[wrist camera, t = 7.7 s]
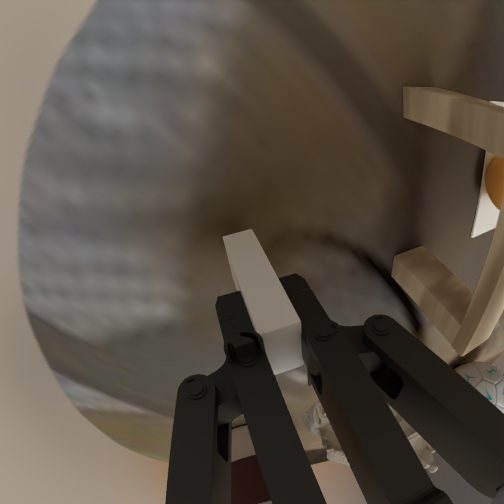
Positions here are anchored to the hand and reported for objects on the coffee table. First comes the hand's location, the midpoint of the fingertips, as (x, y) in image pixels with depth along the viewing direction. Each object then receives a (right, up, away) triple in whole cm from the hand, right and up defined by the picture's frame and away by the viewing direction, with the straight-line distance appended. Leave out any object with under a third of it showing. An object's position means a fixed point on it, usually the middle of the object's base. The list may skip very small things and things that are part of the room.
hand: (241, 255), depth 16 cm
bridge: (+12, +5, +3) cm, 13 cm away
